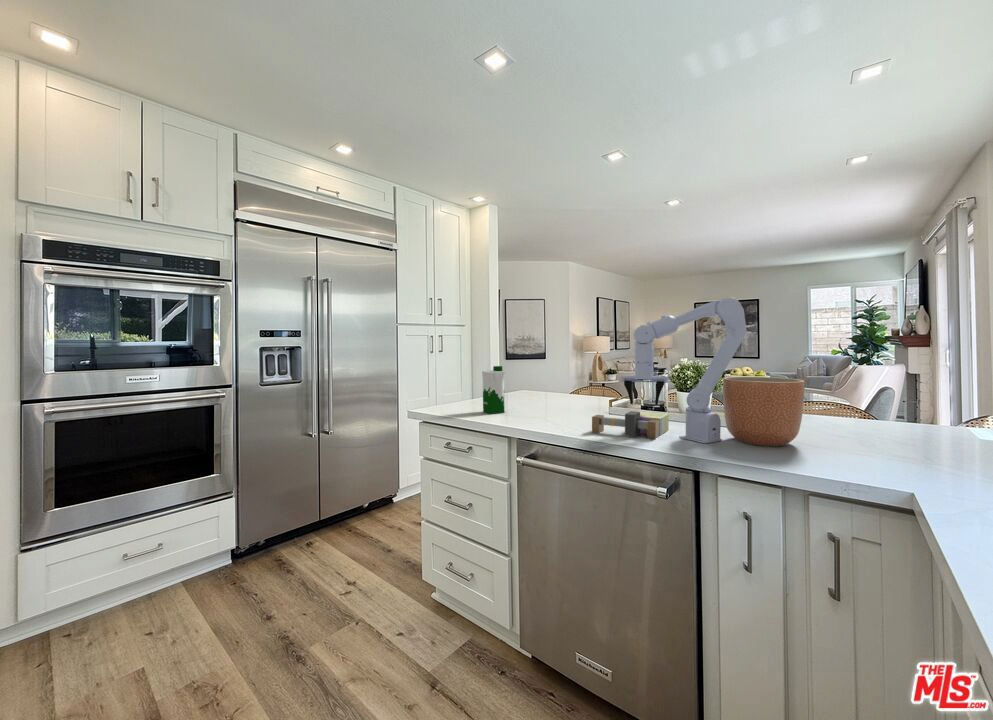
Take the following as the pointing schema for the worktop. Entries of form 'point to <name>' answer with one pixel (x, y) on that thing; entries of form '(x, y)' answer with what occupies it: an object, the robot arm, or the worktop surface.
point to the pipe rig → (600, 421)
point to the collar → (631, 423)
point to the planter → (763, 409)
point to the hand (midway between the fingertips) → (644, 404)
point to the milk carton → (493, 390)
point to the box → (655, 416)
